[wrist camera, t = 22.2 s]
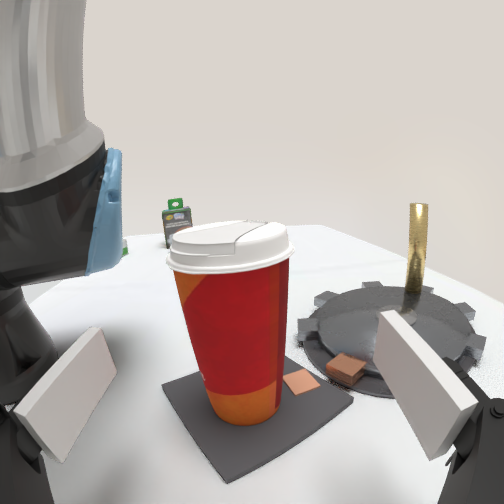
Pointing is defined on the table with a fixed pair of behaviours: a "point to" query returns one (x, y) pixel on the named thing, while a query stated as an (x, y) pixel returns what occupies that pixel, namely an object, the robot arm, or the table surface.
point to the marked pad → (260, 435)
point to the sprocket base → (365, 382)
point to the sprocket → (385, 299)
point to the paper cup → (236, 312)
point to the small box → (124, 248)
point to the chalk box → (175, 219)
